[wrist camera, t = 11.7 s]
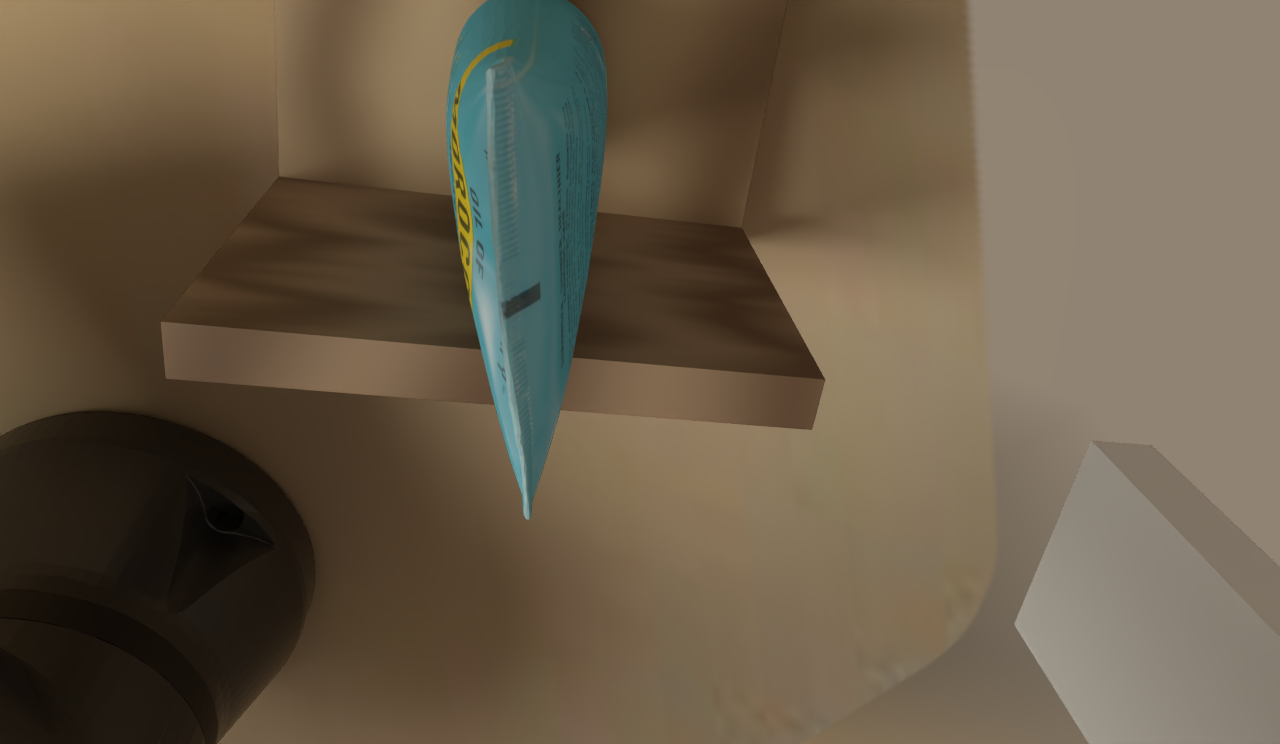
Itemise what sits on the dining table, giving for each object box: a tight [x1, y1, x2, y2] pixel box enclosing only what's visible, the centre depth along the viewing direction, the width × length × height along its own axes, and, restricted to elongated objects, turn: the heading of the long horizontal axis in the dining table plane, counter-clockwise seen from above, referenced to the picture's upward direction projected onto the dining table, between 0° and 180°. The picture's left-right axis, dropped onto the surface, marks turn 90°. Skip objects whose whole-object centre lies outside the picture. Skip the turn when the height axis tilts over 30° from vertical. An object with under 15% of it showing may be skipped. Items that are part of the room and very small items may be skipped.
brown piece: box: [161, 0, 825, 430], centre depth 28 cm, size 16×12×14 cm
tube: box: [446, 0, 607, 519], centre depth 23 cm, size 7×5×19 cm, turn 6°
